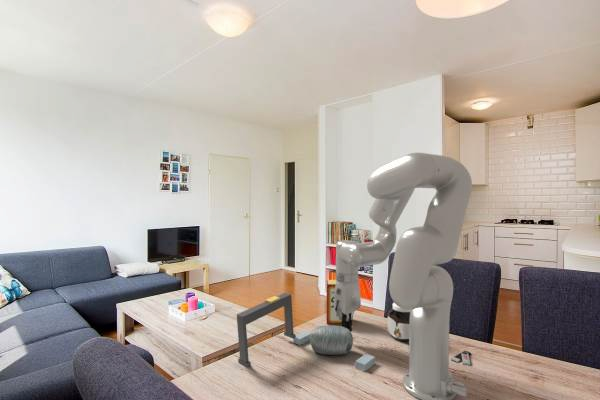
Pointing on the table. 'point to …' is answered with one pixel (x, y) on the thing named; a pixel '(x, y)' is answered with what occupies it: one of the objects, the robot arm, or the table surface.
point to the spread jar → (399, 323)
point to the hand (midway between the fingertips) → (346, 331)
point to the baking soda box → (331, 304)
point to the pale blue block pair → (361, 363)
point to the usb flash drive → (463, 358)
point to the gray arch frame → (257, 313)
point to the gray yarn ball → (331, 340)
